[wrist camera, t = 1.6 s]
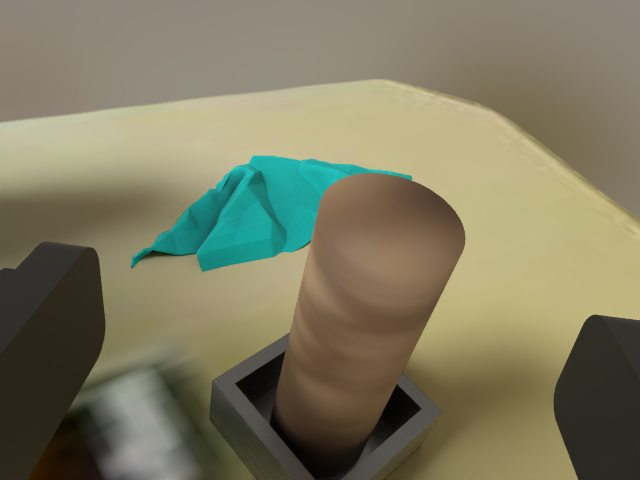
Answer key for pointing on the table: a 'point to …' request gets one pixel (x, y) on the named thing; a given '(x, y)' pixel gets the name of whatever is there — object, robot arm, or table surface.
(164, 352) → the table surface
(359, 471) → the holder cup
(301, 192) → the cloth
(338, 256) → the canister
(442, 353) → the table surface
